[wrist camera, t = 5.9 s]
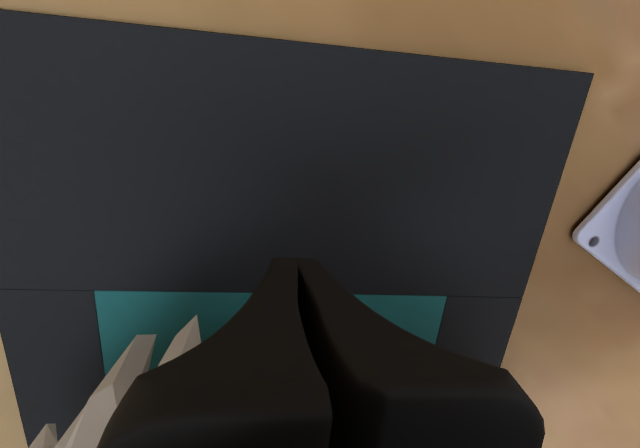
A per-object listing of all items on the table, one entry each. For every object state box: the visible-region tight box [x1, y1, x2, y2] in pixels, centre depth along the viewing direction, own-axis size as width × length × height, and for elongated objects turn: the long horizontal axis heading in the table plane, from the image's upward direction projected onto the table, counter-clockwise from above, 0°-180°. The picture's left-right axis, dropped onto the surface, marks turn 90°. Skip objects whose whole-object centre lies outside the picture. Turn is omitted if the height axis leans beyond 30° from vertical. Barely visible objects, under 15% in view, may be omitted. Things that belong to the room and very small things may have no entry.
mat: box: [0, 9, 594, 448], centre depth 20 cm, size 31×24×1 cm
